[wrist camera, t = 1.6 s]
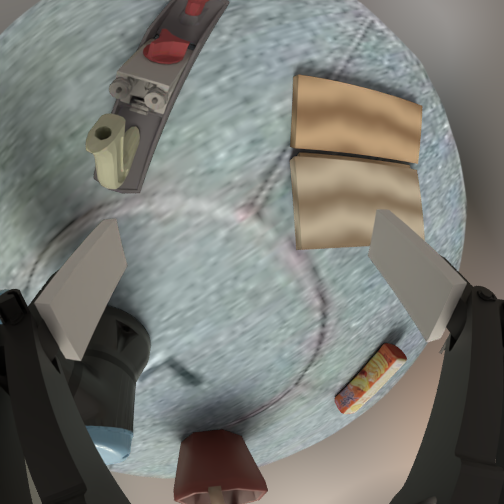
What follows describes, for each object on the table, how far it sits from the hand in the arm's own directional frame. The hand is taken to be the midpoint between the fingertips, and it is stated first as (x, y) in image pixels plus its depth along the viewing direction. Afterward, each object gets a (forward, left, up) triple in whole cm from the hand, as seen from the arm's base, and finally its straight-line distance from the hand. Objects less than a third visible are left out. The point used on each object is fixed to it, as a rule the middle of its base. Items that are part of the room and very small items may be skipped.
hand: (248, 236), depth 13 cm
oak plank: (+8, -21, -24) cm, 33 cm away
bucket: (-69, +4, -24) cm, 74 cm away
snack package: (-47, -36, -25) cm, 64 cm away
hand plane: (+12, +7, -25) cm, 29 cm away
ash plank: (-4, -21, -22) cm, 31 cm away
